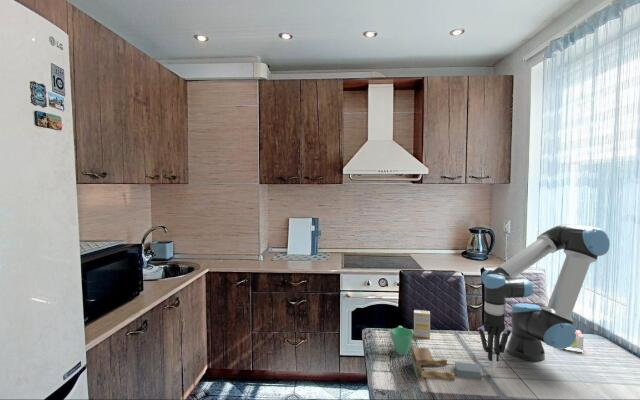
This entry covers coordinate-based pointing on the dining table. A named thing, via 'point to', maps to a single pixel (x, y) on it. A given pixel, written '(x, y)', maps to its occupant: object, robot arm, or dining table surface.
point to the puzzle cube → (578, 341)
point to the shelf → (428, 364)
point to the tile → (467, 370)
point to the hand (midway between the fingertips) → (492, 368)
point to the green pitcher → (402, 339)
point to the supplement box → (422, 324)
